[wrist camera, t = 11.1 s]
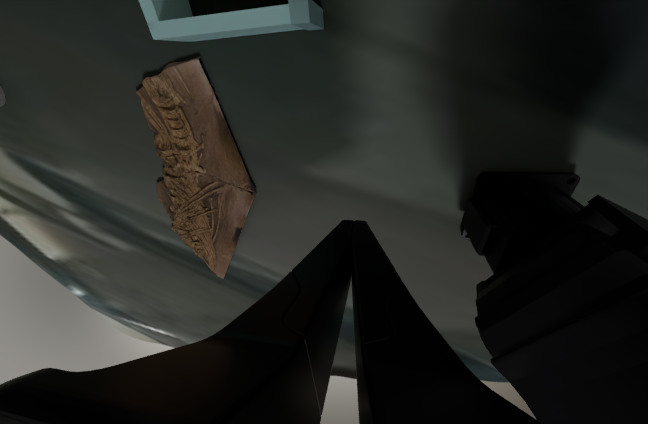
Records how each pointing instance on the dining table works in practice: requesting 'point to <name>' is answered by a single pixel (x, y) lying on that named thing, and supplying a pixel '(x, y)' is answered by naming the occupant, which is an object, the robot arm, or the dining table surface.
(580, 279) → the robot arm
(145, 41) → the dining table surface
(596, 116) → the dining table surface
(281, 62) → the dining table surface
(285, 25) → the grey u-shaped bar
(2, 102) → the beverage cup
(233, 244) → the brown carved slab
